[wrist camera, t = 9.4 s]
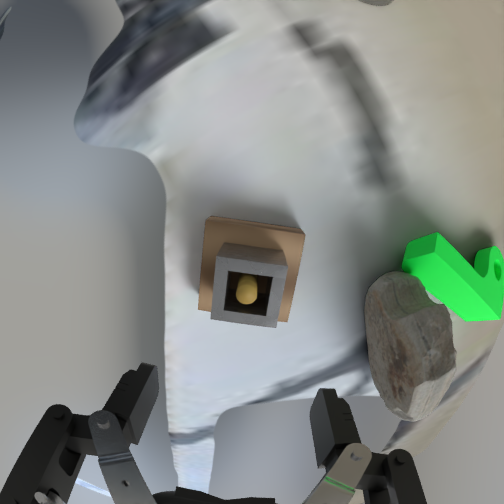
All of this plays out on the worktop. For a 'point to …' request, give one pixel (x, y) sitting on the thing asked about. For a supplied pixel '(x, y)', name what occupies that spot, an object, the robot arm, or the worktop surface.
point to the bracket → (458, 276)
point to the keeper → (250, 235)
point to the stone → (408, 345)
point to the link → (249, 262)
